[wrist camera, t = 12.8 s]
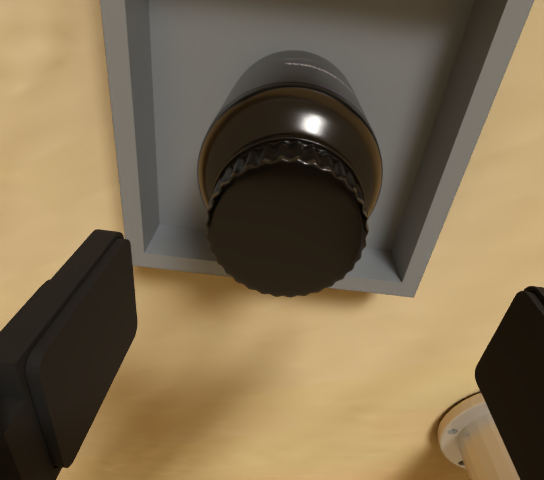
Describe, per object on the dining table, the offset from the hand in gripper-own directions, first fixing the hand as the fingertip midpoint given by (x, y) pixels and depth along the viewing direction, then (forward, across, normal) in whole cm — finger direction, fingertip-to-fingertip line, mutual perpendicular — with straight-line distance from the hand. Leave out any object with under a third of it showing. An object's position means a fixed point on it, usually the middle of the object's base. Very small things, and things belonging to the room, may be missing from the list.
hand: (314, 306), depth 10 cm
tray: (+15, +1, -1) cm, 15 cm away
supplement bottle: (+14, +1, -1) cm, 15 cm away
